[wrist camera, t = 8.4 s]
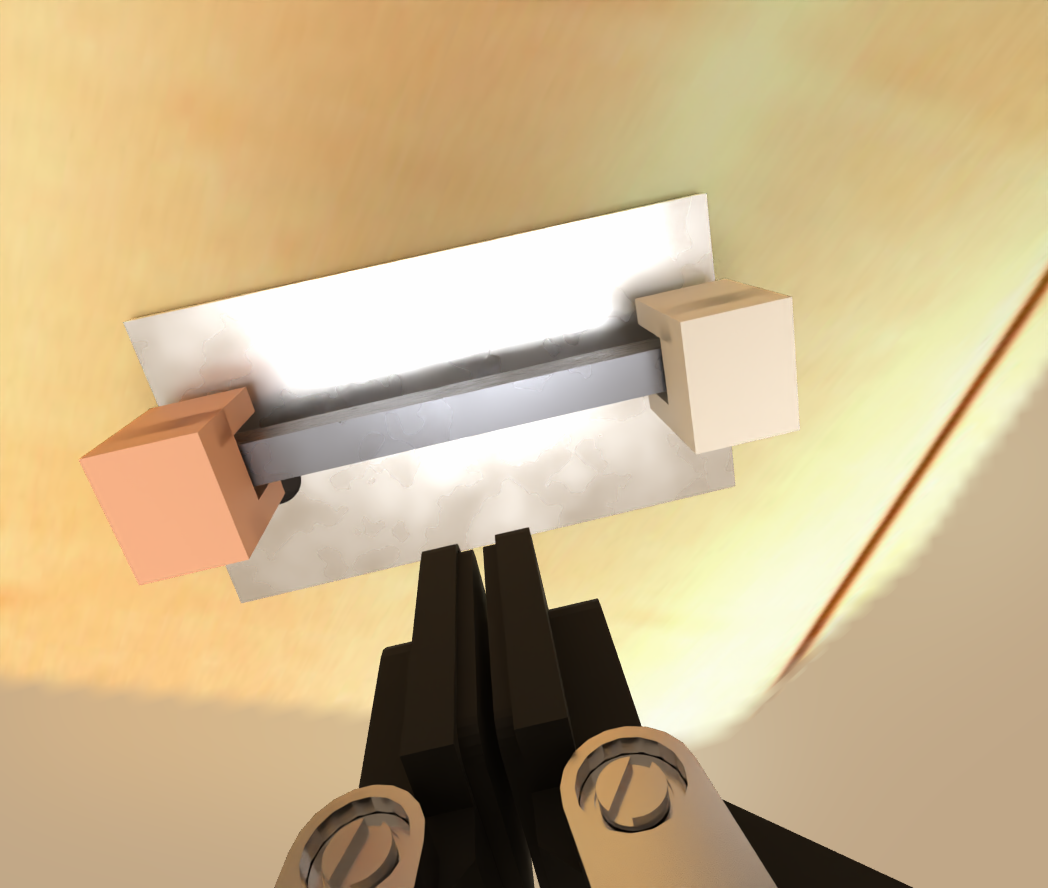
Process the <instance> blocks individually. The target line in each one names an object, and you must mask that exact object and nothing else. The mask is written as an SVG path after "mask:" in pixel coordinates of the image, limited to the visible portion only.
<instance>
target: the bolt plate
mask: <svg viewBox="0 0 1048 888" xmlns="http://www.w3.org/2000/svg"><path fill="white" fill-rule="evenodd" d="M712 281H715V274H714V264H713V254H712V244H711V234H710V224H709V214H708V203H707V193H698V194H693V195H688V196H684V197H679V198H675V199H670V200H666V201H661V202H657V203H652V204H648V205H643V206H639V207H634V208H630V209H625V210H621V211H616V212H612V213H607V214H603V215H598V216H594V217H589V218H585V219H580V220H576V221H571V222H566V223H562V224H557V225H553V226H548V227H544V228H539V229H535V230H530V231H526V232H521V233H517V234H512V235H508V236H503V237H499V238H494V239H490V240H485V241H481V242H476V243H472V244H467V245H463V246H458V247H454V248H449V249H445V250H440V251H435V252H431V253H426V254H422V255H417V256H413V257H408V258H404V259H399V260H395V261H390V262H386V263H381V264H377V265H372V266H368V267H363V268H359V269H354V270H350V271H345V272H341V273H336V274H332V275H327V276H323V277H318V278H313V279H309V280H304V281H300V282H295V283H291V284H286V285H282V286H277V287H273V288H268V289H264V290H259V291H255V292H250V293H246V294H241V295H237V296H232V297H228V298H223V299H219V300H214V301H210V302H205V303H201V304H196V305H191V306H187V307H182V308H178V309H173V310H169V311H164V312H160V313H155V314H151V315H146V316H142V317H137V318H133V319H130V320H128V321H125V322H123V323H124V326H125V328H126V331H127V333H128V335H129V338H130V340H131V342H132V345H133V347H134V350H135V352H136V354H137V357H138V359H139V361H140V364H141V366H142V368H143V371H144V373H145V376H146V378H147V380H148V383H149V385H150V387H151V390H152V392H153V395H154V397H155V399H156V402H157V404H158V406H163V405H168V404H172V403H177V402H181V401H185V400H190V399H194V398H199V397H203V396H207V395H212V394H216V393H221V392H225V391H230V390H234V389H238V388H243V387H246V388H247V391H248V394H249V396H250V399H251V402H252V404H253V407H254V410H255V412H254V413H253V414H252V415H251V416H250V417H249V419H248V420H247V421H246V422H245V423H244V424H243V425H242V426H241V428H240V429H239V430H238V431H237V432H236V433H241V432H245V431H250V430H254V429H258V428H263V427H267V426H271V425H276V424H280V423H285V422H289V421H293V420H298V419H302V418H306V417H311V416H315V415H320V414H324V413H328V412H333V411H337V410H341V409H346V408H350V407H355V406H359V405H363V404H368V403H372V402H376V401H381V400H385V399H390V398H394V397H398V396H403V395H407V394H411V393H416V392H420V391H425V390H429V389H433V388H438V387H442V386H446V385H451V384H455V383H460V382H464V381H468V380H473V379H477V378H482V377H486V376H490V375H495V374H499V373H503V372H508V371H512V370H517V369H521V368H525V367H530V366H534V365H538V364H543V363H547V362H552V361H556V360H560V359H565V358H569V357H573V356H578V355H582V354H587V353H591V352H595V351H600V350H604V349H608V348H613V347H617V346H622V345H626V344H630V343H635V342H639V341H643V340H648V339H652V338H657V337H658V336H656V335H655V334H653V333H651V332H650V331H648V330H647V329H645V328H644V327H642V326H640V325H639V324H638V319H637V312H636V305H635V299H636V298H641V297H645V296H650V295H654V294H658V293H663V292H667V291H672V290H676V289H681V288H685V287H689V286H694V285H698V284H703V283H707V282H712ZM236 433H235V434H236ZM280 481H281V483H282V486H283V489H284V491H285V494H284V496H283V498H282V500H281V502H280V503H279V505H278V507H277V509H276V511H275V513H274V515H273V516H272V518H271V520H270V522H269V524H268V526H267V527H266V529H265V531H264V533H263V535H262V537H261V538H260V540H259V542H258V544H257V546H256V548H255V550H254V551H253V553H252V555H251V557H250V559H249V560H245V561H241V562H237V563H232V564H228V565H226V568H227V570H228V573H229V575H230V577H231V580H232V582H233V584H234V587H235V589H236V592H237V594H238V596H239V599H240V601H241V603H245V602H249V601H253V600H257V599H261V598H266V597H270V596H274V595H278V594H282V593H287V592H291V591H295V590H299V589H304V588H308V587H312V586H316V585H320V584H325V583H329V582H333V581H337V580H341V579H346V578H350V577H354V576H358V575H363V574H367V573H371V572H375V571H379V570H384V569H388V568H392V567H396V566H400V565H405V564H409V563H413V562H417V561H421V554H422V552H423V551H427V550H431V549H436V548H440V547H444V546H449V545H453V544H458V545H459V548H460V550H461V551H464V550H468V549H472V548H476V547H481V546H485V545H489V544H493V543H495V535H496V534H501V533H505V532H509V531H514V530H518V529H522V528H527V527H529V529H530V533H531V534H535V533H540V532H544V531H548V530H552V529H556V528H561V527H565V526H569V525H573V524H577V523H582V522H586V521H590V520H594V519H599V518H603V517H607V516H611V515H615V514H620V513H624V512H628V511H632V510H636V509H641V508H645V507H649V506H653V505H658V504H662V503H666V502H670V501H674V500H679V499H683V498H687V497H691V496H695V495H700V494H704V493H708V492H712V491H717V490H721V489H725V488H729V487H733V486H735V477H734V467H733V457H732V446H730V447H726V448H722V449H717V450H713V451H709V452H705V453H700V454H695V453H694V452H693V451H692V450H691V449H690V448H689V447H688V446H687V445H686V444H685V443H684V442H683V441H682V440H681V439H680V438H679V437H678V436H677V435H676V434H675V433H674V432H673V431H672V430H671V429H670V428H669V427H668V426H667V425H666V424H665V423H664V422H663V421H662V420H661V419H660V418H659V417H658V416H657V415H656V414H655V413H654V412H653V411H652V410H651V409H650V403H649V396H643V397H639V398H635V399H630V400H626V401H622V402H617V403H613V404H609V405H605V406H600V407H596V408H592V409H587V410H583V411H579V412H574V413H570V414H566V415H561V416H557V417H553V418H548V419H544V420H540V421H535V422H531V423H527V424H522V425H518V426H514V427H509V428H505V429H501V430H496V431H492V432H488V433H484V434H479V435H475V436H471V437H466V438H462V439H458V440H453V441H449V442H445V443H440V444H436V445H432V446H427V447H423V448H419V449H414V450H410V451H406V452H401V453H397V454H393V455H388V456H384V457H380V458H376V459H371V460H367V461H363V462H358V463H354V464H350V465H345V466H341V467H337V468H332V469H328V470H324V471H319V472H315V473H311V474H306V475H302V476H298V477H293V478H289V479H285V480H280Z"/></svg>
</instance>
